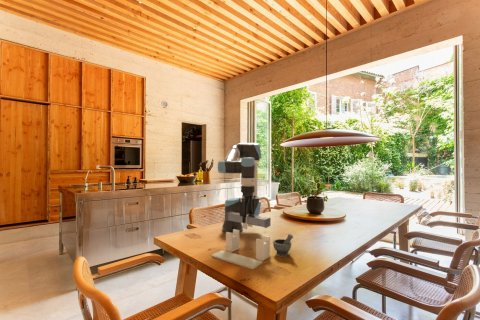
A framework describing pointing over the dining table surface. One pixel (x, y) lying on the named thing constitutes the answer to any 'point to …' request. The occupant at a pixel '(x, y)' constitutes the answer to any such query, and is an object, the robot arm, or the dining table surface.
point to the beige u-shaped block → (263, 248)
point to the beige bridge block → (232, 240)
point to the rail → (249, 219)
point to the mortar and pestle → (282, 246)
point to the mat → (237, 259)
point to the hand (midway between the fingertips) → (247, 227)
